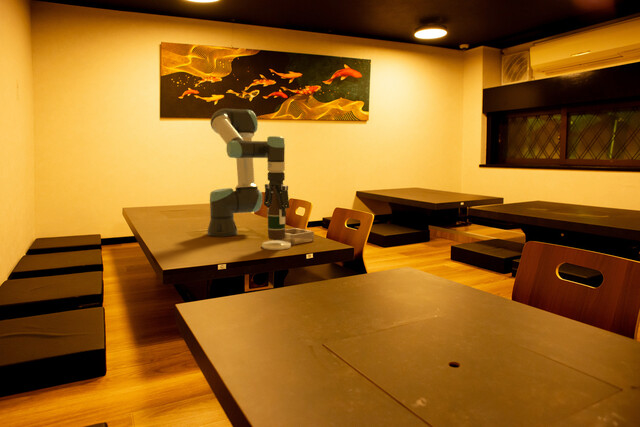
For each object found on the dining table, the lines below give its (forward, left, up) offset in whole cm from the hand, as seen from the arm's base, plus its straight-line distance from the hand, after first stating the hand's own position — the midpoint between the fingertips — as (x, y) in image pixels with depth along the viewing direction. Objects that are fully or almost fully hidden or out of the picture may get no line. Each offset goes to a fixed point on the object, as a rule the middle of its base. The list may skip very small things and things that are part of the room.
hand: (276, 222), depth 197 cm
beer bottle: (0, 0, -7) cm, 7 cm away
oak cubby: (-5, +15, -11) cm, 19 cm away
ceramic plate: (0, 0, -11) cm, 11 cm away
